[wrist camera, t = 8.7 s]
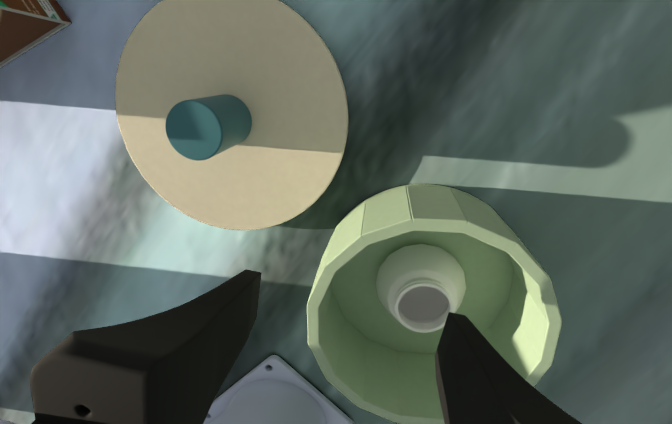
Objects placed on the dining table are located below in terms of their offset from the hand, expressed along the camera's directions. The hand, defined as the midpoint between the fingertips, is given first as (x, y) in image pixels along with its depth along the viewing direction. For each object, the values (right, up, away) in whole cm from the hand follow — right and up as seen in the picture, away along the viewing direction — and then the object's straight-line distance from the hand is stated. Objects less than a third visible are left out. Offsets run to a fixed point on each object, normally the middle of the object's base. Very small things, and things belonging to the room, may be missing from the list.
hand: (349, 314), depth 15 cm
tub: (+5, 0, +9) cm, 10 cm away
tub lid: (-6, +9, +6) cm, 12 cm away
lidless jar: (+4, 0, +9) cm, 10 cm away
